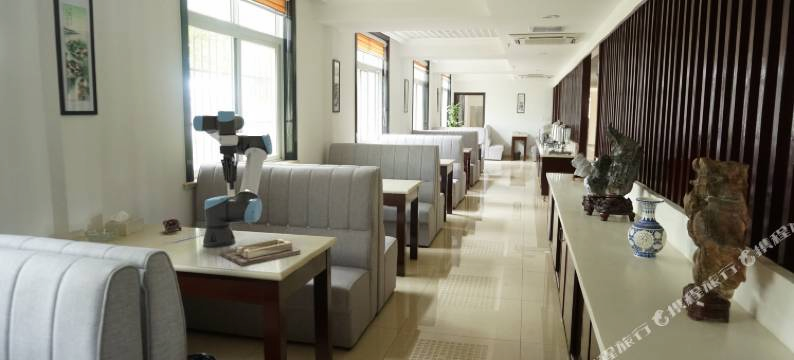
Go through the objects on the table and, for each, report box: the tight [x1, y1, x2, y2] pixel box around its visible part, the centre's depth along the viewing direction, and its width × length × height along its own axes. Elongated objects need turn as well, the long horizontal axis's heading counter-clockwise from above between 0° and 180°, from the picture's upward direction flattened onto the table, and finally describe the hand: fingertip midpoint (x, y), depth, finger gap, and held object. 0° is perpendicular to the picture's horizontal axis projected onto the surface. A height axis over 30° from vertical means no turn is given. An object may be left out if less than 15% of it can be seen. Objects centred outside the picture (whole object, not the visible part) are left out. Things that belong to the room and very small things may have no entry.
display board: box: [218, 247, 301, 267], centre depth 251 cm, size 24×28×2 cm
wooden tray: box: [234, 237, 293, 259], centre depth 249 cm, size 12×22×3 cm, turn 132°
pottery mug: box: [162, 218, 182, 234], centre depth 301 cm, size 12×10×8 cm
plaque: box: [169, 232, 205, 244], centre depth 286 cm, size 33×10×1 cm, turn 149°
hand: (231, 196), depth 251 cm, fingers closed
